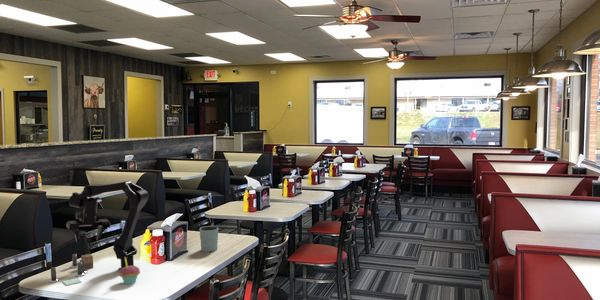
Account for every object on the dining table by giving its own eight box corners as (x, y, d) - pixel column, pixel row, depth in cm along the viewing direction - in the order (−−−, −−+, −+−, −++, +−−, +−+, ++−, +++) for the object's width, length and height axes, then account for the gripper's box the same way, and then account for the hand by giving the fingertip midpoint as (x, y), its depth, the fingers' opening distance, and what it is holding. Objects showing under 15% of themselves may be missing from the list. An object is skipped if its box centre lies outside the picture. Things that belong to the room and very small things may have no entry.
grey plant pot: (210, 246, 259) (209, 224, 258) (223, 249, 253) (222, 227, 252) (196, 250, 250) (195, 228, 250) (209, 253, 245) (208, 231, 244)
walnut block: (93, 268, 224) (92, 255, 224) (84, 269, 222) (83, 257, 221) (90, 266, 227) (89, 253, 227) (81, 267, 225) (81, 255, 224)
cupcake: (128, 287, 198) (126, 259, 197) (115, 283, 202) (114, 256, 201) (144, 280, 205) (143, 254, 204) (131, 277, 210) (130, 251, 209)
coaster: (81, 282, 205) (81, 281, 205) (66, 285, 201) (66, 284, 201) (77, 278, 209) (77, 277, 209) (62, 282, 205) (62, 281, 205)
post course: (90, 274, 215) (90, 261, 214) (50, 283, 204) (49, 270, 203) (78, 265, 229) (77, 253, 229) (39, 273, 218) (38, 260, 217)
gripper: (104, 204, 236) (101, 234, 237) (64, 206, 223) (61, 237, 225) (112, 210, 227) (109, 241, 229) (71, 212, 215) (68, 245, 217)
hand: (87, 241), depth 225 cm, fingers open, 9 cm apart
